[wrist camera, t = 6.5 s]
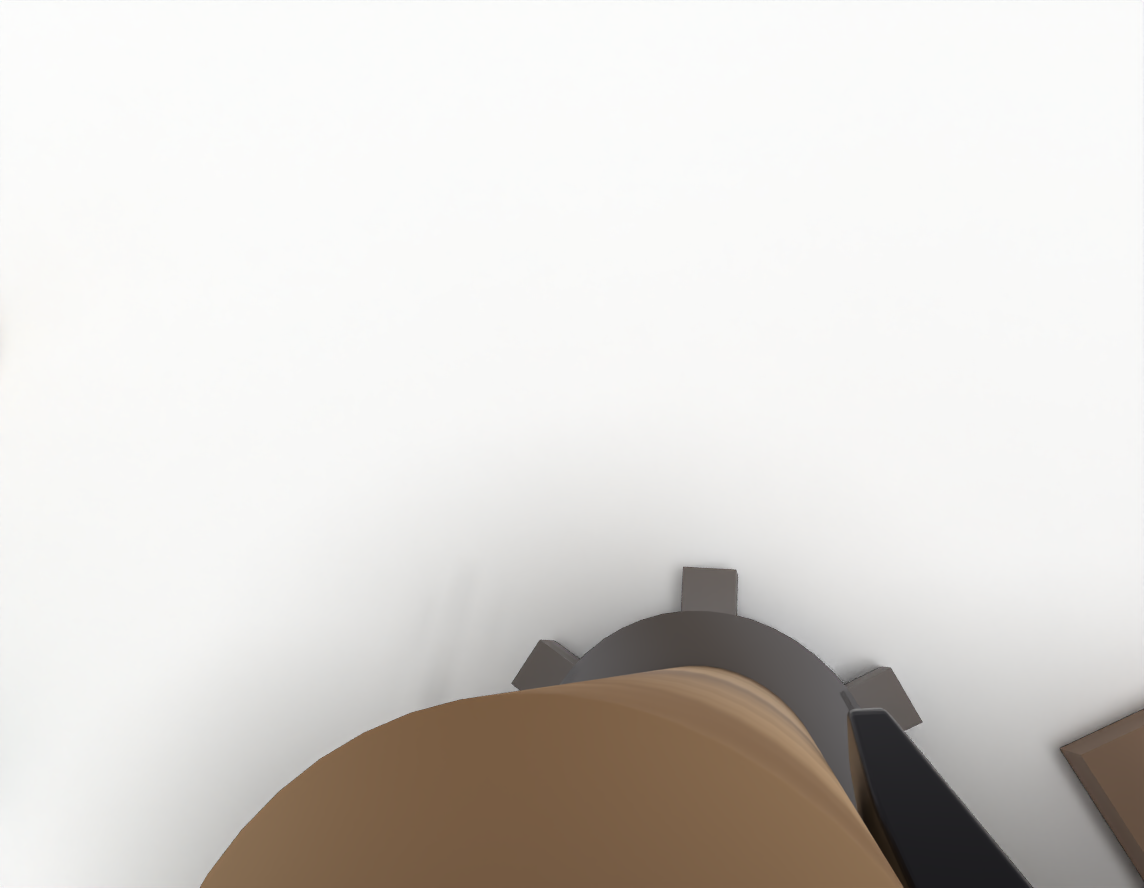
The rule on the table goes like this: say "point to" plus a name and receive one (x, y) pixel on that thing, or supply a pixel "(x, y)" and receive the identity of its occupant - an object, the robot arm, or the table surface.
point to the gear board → (1115, 779)
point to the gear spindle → (598, 773)
